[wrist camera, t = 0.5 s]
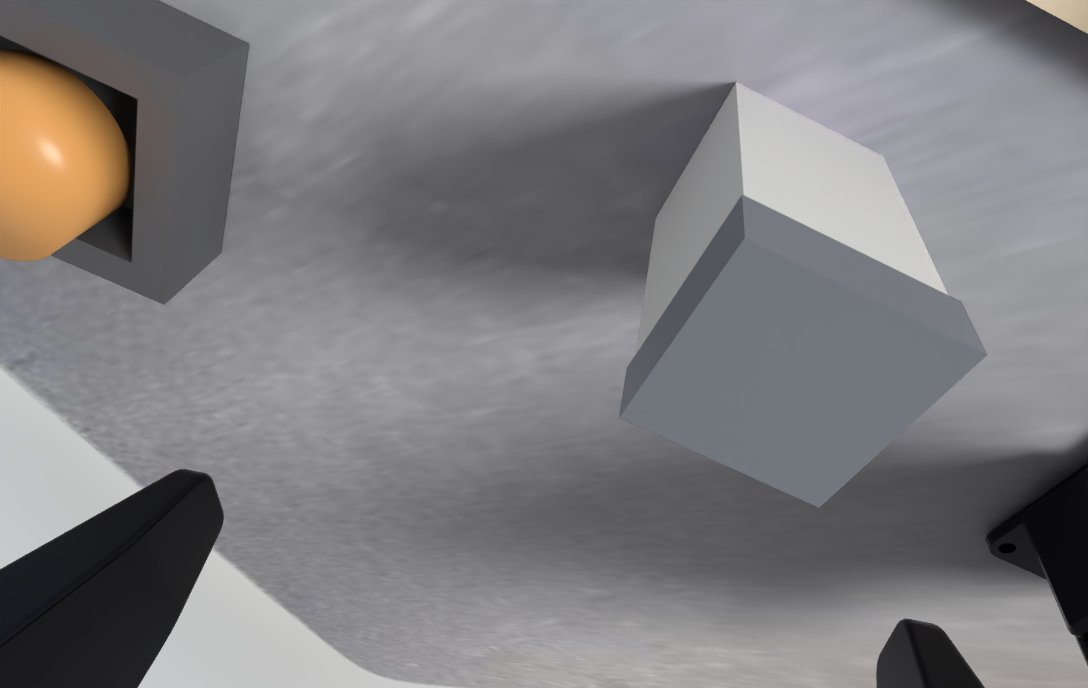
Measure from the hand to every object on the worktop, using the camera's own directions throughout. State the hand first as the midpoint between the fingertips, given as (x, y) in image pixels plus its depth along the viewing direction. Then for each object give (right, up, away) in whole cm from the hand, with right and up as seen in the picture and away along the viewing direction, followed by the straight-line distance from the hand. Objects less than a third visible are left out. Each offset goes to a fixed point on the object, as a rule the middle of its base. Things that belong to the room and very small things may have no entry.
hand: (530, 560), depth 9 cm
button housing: (-12, +10, +11) cm, 19 cm away
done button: (-12, +8, +9) cm, 17 cm away
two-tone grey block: (+6, +7, +9) cm, 13 cm away
